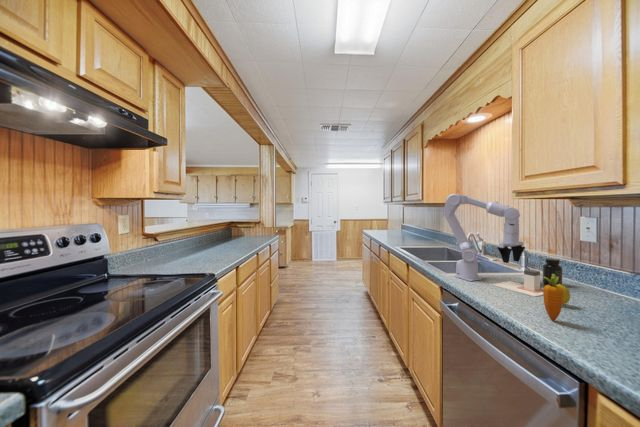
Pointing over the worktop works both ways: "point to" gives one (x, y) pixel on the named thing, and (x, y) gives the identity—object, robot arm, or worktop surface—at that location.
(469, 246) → the robot arm
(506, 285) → the paper sheet
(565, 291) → the lemon
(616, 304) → the worktop surface
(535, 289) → the grey rectangular block
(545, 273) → the supplement bottle
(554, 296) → the carrot
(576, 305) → the worktop surface
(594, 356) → the worktop surface
